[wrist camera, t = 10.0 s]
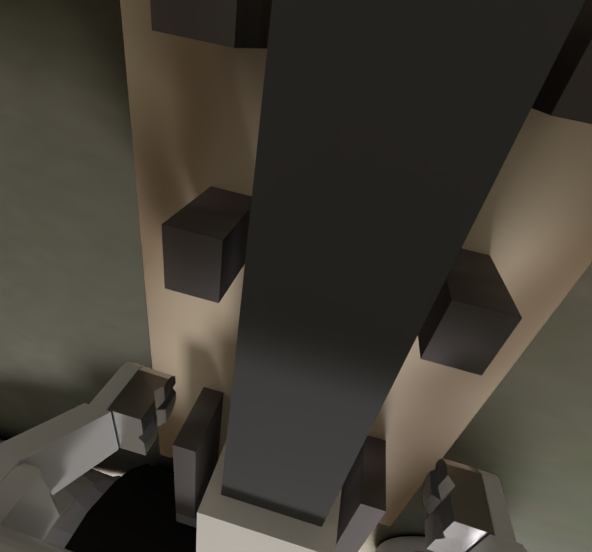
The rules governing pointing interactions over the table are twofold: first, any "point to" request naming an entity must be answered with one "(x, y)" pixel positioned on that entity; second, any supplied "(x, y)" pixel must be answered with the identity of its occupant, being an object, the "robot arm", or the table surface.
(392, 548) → the supplement bottle
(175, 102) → the clip board
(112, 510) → the cable
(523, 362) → the table surface
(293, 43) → the bar
